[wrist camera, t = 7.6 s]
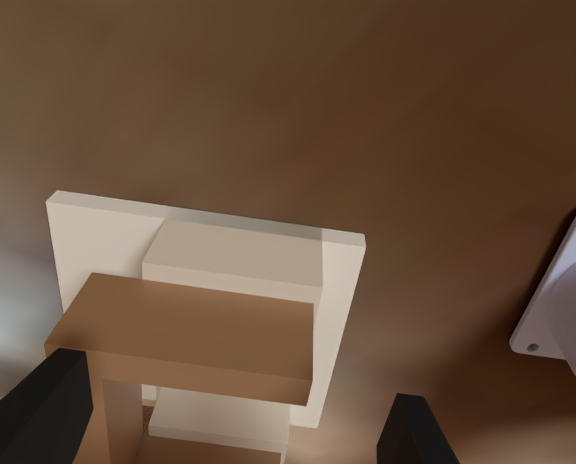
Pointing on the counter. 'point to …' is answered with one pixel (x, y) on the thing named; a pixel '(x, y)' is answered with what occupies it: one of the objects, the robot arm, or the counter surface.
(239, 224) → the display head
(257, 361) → the tan c-shaped bracket
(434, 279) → the counter surface
